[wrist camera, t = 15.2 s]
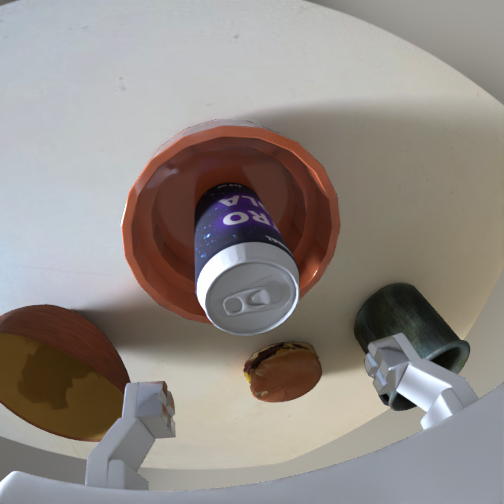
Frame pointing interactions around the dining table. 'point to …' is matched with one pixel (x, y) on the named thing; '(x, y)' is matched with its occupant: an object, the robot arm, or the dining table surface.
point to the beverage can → (242, 262)
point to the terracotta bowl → (214, 173)
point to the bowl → (60, 372)
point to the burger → (283, 371)
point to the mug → (409, 332)
